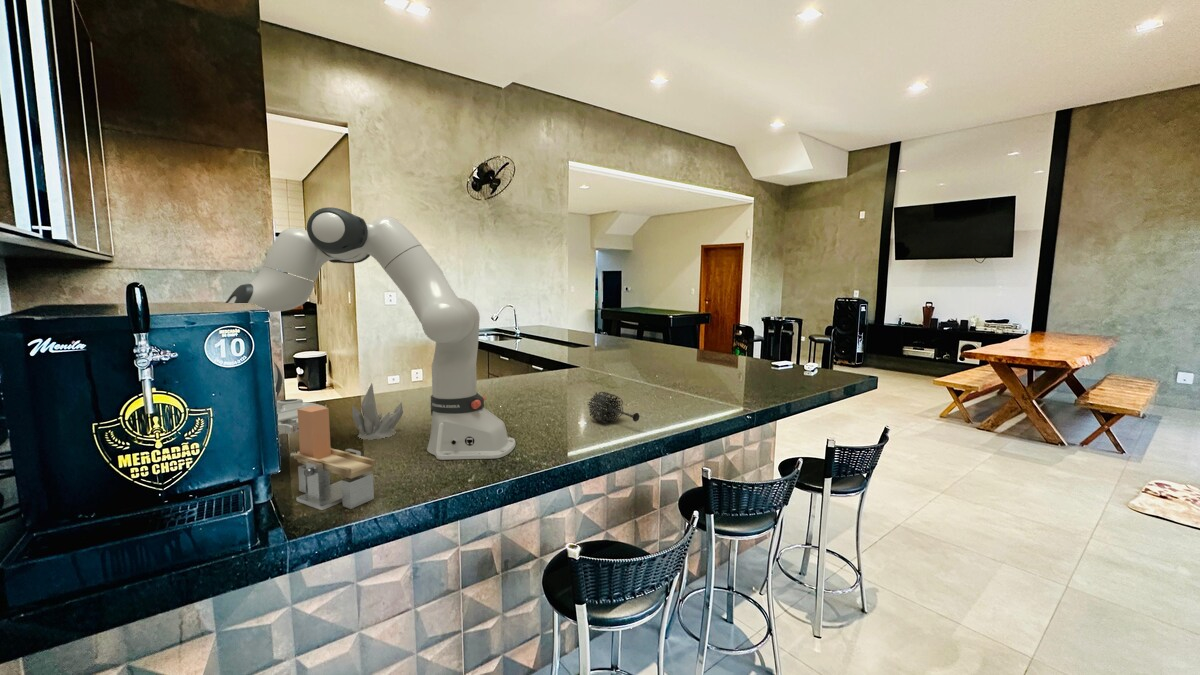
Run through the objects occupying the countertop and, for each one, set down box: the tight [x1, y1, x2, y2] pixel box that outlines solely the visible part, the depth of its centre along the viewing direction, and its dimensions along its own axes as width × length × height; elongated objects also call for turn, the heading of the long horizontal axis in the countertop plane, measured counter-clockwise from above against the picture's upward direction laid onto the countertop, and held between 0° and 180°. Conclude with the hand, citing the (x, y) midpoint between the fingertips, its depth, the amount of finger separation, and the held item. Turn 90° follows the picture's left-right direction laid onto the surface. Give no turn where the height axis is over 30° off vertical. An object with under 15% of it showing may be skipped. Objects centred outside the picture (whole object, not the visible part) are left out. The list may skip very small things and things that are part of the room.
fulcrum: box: [295, 448, 375, 511], centre depth 96 cm, size 16×11×8 cm
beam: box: [293, 447, 377, 478], centre depth 95 cm, size 17×6×2 cm, turn 62°
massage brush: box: [587, 391, 640, 425], centre depth 148 cm, size 9×22×9 cm, turn 39°
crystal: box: [351, 383, 404, 441], centre depth 135 cm, size 10×13×15 cm
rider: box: [297, 406, 332, 459], centre depth 98 cm, size 5×4×10 cm
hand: (297, 428), depth 101 cm, fingers closed
